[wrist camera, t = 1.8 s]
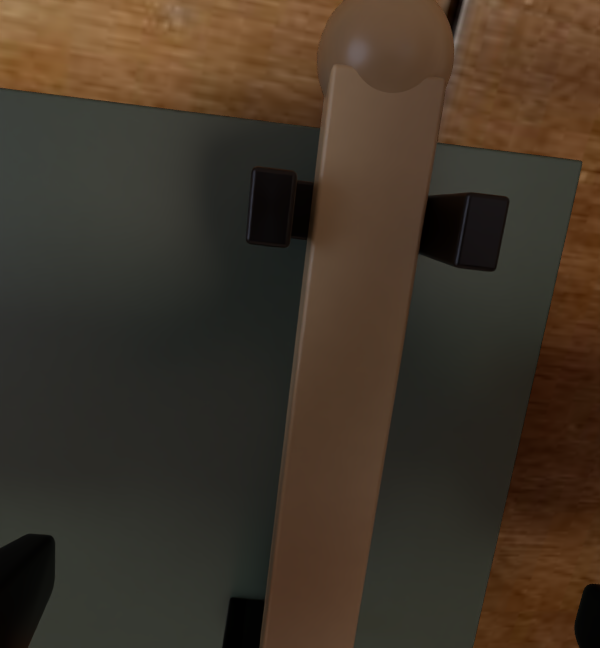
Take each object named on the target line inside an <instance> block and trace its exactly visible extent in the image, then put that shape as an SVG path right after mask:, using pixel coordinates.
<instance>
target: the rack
mask: <svg viewBox="0 0 600 648" xmlns="http://www.w3.org/2000/svg"><path fill="white" fill-rule="evenodd" d="M319 135H320V128H316V127H308V126H300V125H292V124H284V123H276V122H269V121H261V120H253V119H245V118H237V117H229V116H221V115H213V114H205V113H197V112H189V111H181V110H173V109H165V108H157V107H149V106H141V105H133V104H125V103H117V102H109V101H101V100H93V99H85V98H77V97H69V96H61V95H53V94H45V93H37V92H29V91H21V90H13V89H5V88H0V548H1V547H3V546H5V545H7V544H9V543H11V542H12V541H14V540H16V539H18V538H20V537H22V536H24V535H26V534H30V533H31V534H43V535H51V536H52V537H53V538H54V540H55V582H54V587H53V591H52V594H51V596H50V599H49V601H48V603H47V605H46V608H45V610H44V612H43V614H42V617H41V619H40V621H39V624H38V626H37V628H36V630H35V633H34V635H33V637H32V640H31V642H30V644H29V646H28V648H259V646H260V638H261V629H262V621H263V612H264V604H265V595H266V587H267V578H268V570H269V561H270V553H271V544H272V536H273V527H274V519H275V510H276V502H277V493H278V485H279V476H280V468H281V459H282V451H283V442H284V434H285V425H286V416H287V408H288V399H289V391H290V382H291V374H292V365H293V357H294V348H295V340H296V331H297V323H298V314H299V306H300V297H301V289H302V280H303V272H304V263H305V255H306V246H307V238H308V229H309V221H310V212H311V204H312V195H313V187H314V178H315V170H316V161H317V153H318V144H319ZM581 167H582V161H580V160H572V159H564V158H556V157H548V156H540V155H532V154H524V153H516V152H508V151H500V150H492V149H484V148H476V147H468V146H460V145H452V144H444V143H437V145H436V151H435V158H434V164H433V170H432V176H431V182H430V188H429V194H428V200H427V206H426V212H425V218H424V224H423V230H422V236H421V242H420V248H419V254H418V260H417V266H416V273H415V279H414V285H413V291H412V297H411V303H410V309H409V315H408V321H407V327H406V333H405V339H404V345H403V351H402V357H401V363H400V369H399V375H398V381H397V387H396V394H395V400H394V406H393V412H392V418H391V424H390V430H389V436H388V442H387V448H386V454H385V460H384V466H383V472H382V478H381V484H380V490H379V496H378V502H377V509H376V515H375V521H374V527H373V533H372V539H371V545H370V551H369V557H368V563H367V569H366V575H365V581H364V587H363V593H362V599H361V605H360V611H359V617H358V623H357V630H356V636H355V642H354V648H473V645H474V641H475V636H476V632H477V627H478V623H479V618H480V614H481V610H482V605H483V601H484V596H485V592H486V587H487V583H488V579H489V574H490V570H491V565H492V561H493V556H494V552H495V548H496V543H497V539H498V534H499V530H500V525H501V521H502V517H503V512H504V508H505V503H506V499H507V494H508V490H509V486H510V481H511V477H512V472H513V468H514V463H515V459H516V455H517V450H518V446H519V441H520V437H521V433H522V428H523V424H524V419H525V415H526V410H527V406H528V402H529V397H530V393H531V388H532V384H533V379H534V375H535V371H536V366H537V362H538V357H539V353H540V348H541V344H542V340H543V335H544V331H545V326H546V322H547V317H548V313H549V309H550V304H551V300H552V295H553V291H554V286H555V282H556V278H557V273H558V269H559V264H560V260H561V255H562V251H563V247H564V242H565V238H566V233H567V229H568V224H569V220H570V216H571V211H572V207H573V202H574V198H575V193H576V189H577V185H578V180H579V176H580V171H581Z"/></svg>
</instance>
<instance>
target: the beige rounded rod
mask: <svg viewBox="0 0 600 648" xmlns="http://www.w3.org/2000/svg"><path fill="white" fill-rule="evenodd" d="M453 61H454V43H453V35H452V31H451V27H450V24H449V22H448V19H447V17H446V15H445V14H444V12H443V10H442V9H441V7H440V6H439V5H438V3H437V2H436V1H435V0H344V1H343V2H342V3H341V4H340V5H339V6H338V7H337V8H336V9H335V11H334V12H333V13H332V15H331V16H330V18H329V20H328V21H327V23H326V26H325V28H324V30H323V33H322V35H321V39H320V42H319V47H318V53H317V70H318V78H319V83H320V86H321V89H322V92H323V94H324V101H323V110H322V118H321V127H320V135H319V144H318V153H317V161H316V170H315V178H314V187H313V195H312V204H311V212H310V221H309V229H308V238H307V246H306V255H305V263H304V272H303V280H302V289H301V297H300V306H299V314H298V323H297V331H296V340H295V348H294V357H293V365H292V374H291V382H290V391H289V399H288V408H287V416H286V425H285V434H284V442H283V451H282V459H281V468H280V476H279V485H278V493H277V502H276V510H275V519H274V527H273V536H272V544H271V553H270V561H269V570H268V578H267V587H266V595H265V604H264V612H263V621H262V629H261V638H260V646H259V648H354V642H355V636H356V630H357V623H358V617H359V611H360V605H361V599H362V593H363V587H364V581H365V575H366V569H367V563H368V557H369V551H370V545H371V539H372V533H373V527H374V521H375V515H376V509H377V502H378V496H379V490H380V484H381V478H382V472H383V466H384V460H385V454H386V448H387V442H388V436H389V430H390V424H391V418H392V412H393V406H394V400H395V394H396V387H397V381H398V375H399V369H400V363H401V357H402V351H403V345H404V339H405V333H406V327H407V321H408V315H409V309H410V303H411V297H412V291H413V285H414V279H415V273H416V266H417V260H418V254H419V248H420V242H421V236H422V230H423V224H424V218H425V212H426V206H427V200H428V194H429V188H430V182H431V176H432V170H433V164H434V158H435V151H436V145H437V139H438V133H439V127H440V121H441V115H442V109H443V103H444V97H445V91H446V87H447V84H448V81H449V79H450V76H451V72H452V68H453Z"/></svg>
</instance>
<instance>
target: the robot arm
mask: <svg viewBox="0 0 600 648" xmlns="http://www.w3.org/2000/svg"><path fill="white" fill-rule="evenodd" d="M54 582H55V540H54V538H53V537H52V536H51V535H43V534H31V533H30V534H26V535H24V536H22V537H20V538H18V539H16V540H14V541H12V542H11V543H9V544H7V545H5V546H3V547H1V548H0V648H28V646H29V644H30V642H31V640H32V637H33V635H34V633H35V630H36V628H37V626H38V624H39V621H40V619H41V617H42V614H43V612H44V610H45V608H46V605H47V603H48V601H49V599H50V596H51V594H52V591H53V587H54ZM574 629H575V636H576V640H577V643H578V645H579V647H580V648H600V584H589V585H587V586H586V587H585V589H584V591H583V594H582V598H581V602H580V605H579V609H578V613H577V616H576V620H575V628H574Z"/></svg>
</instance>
